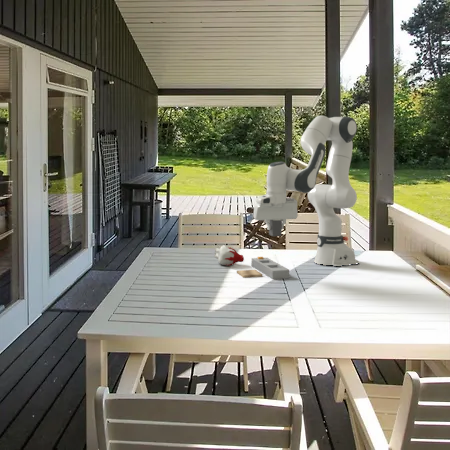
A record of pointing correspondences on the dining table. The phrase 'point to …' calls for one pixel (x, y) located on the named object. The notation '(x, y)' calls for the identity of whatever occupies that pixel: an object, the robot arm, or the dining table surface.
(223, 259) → the white red lumpy piece
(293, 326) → the dining table surface
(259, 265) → the power strip
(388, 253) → the dining table surface
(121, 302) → the dining table surface
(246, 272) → the cork coaster
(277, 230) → the block
